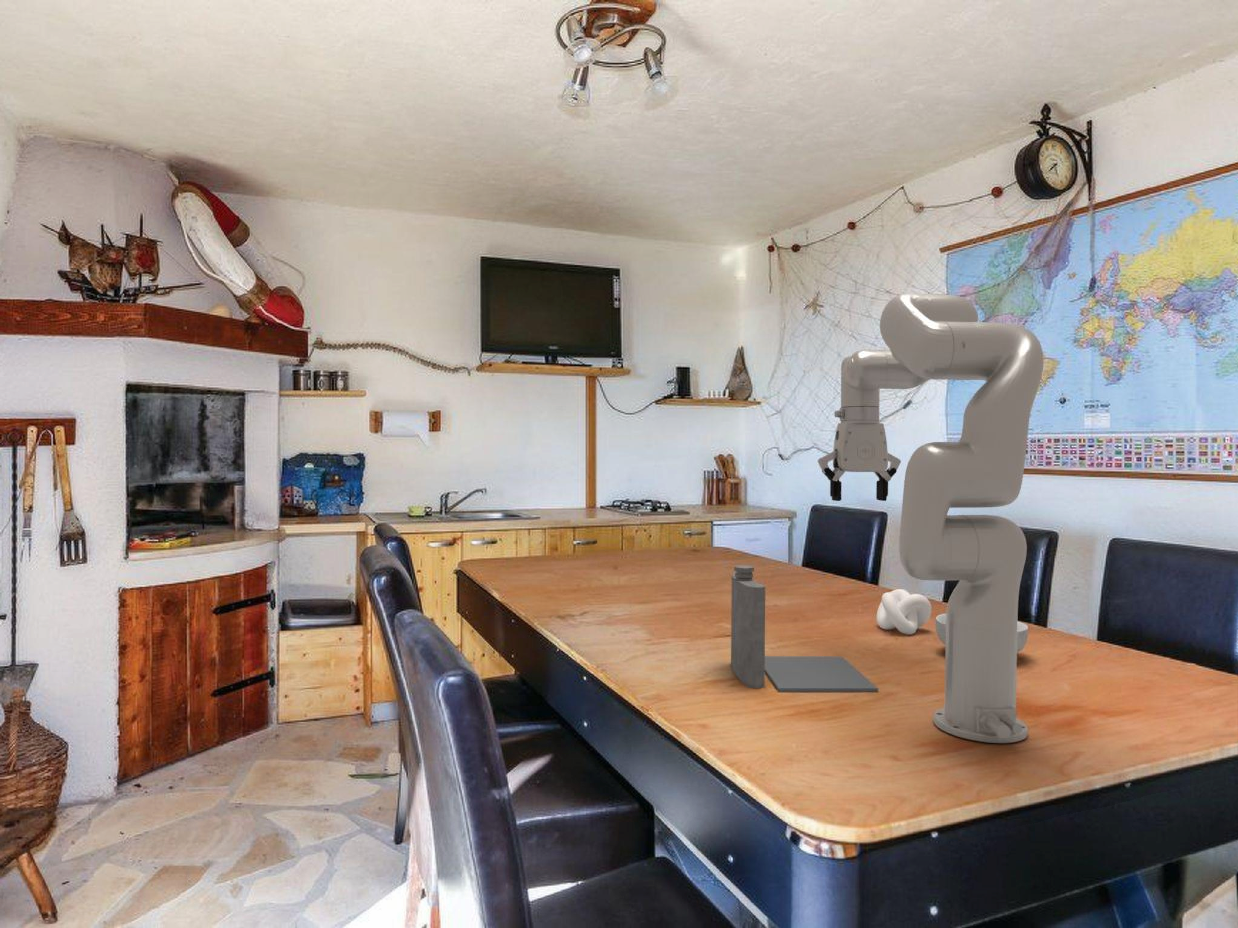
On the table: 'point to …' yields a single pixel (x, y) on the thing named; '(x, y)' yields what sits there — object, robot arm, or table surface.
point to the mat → (815, 674)
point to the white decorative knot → (903, 611)
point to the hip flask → (748, 627)
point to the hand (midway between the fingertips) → (859, 500)
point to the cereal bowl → (1021, 631)
